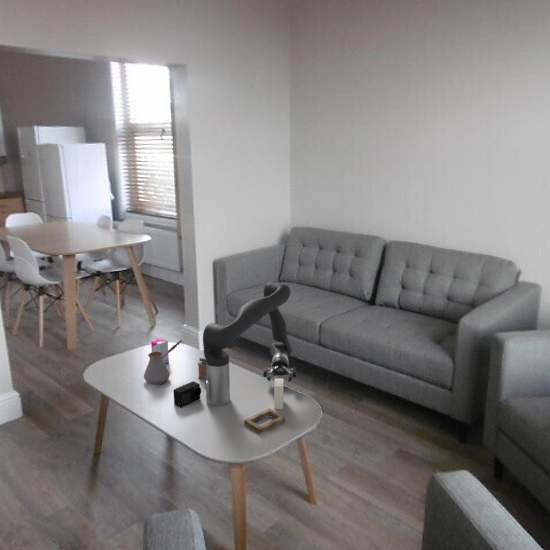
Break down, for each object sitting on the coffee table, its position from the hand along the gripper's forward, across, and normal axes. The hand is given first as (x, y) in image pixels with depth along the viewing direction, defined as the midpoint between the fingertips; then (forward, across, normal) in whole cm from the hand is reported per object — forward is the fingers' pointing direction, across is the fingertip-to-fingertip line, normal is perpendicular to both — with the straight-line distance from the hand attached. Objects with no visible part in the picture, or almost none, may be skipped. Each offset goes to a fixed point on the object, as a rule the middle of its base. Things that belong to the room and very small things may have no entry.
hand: (279, 379), depth 223 cm
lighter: (-12, -33, +6) cm, 36 cm away
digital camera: (+10, -37, +6) cm, 39 cm away
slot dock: (+25, -5, +6) cm, 26 cm away
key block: (+11, 0, +6) cm, 12 cm away
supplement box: (-28, -58, +6) cm, 65 cm away
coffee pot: (-13, -52, +6) cm, 54 cm away
